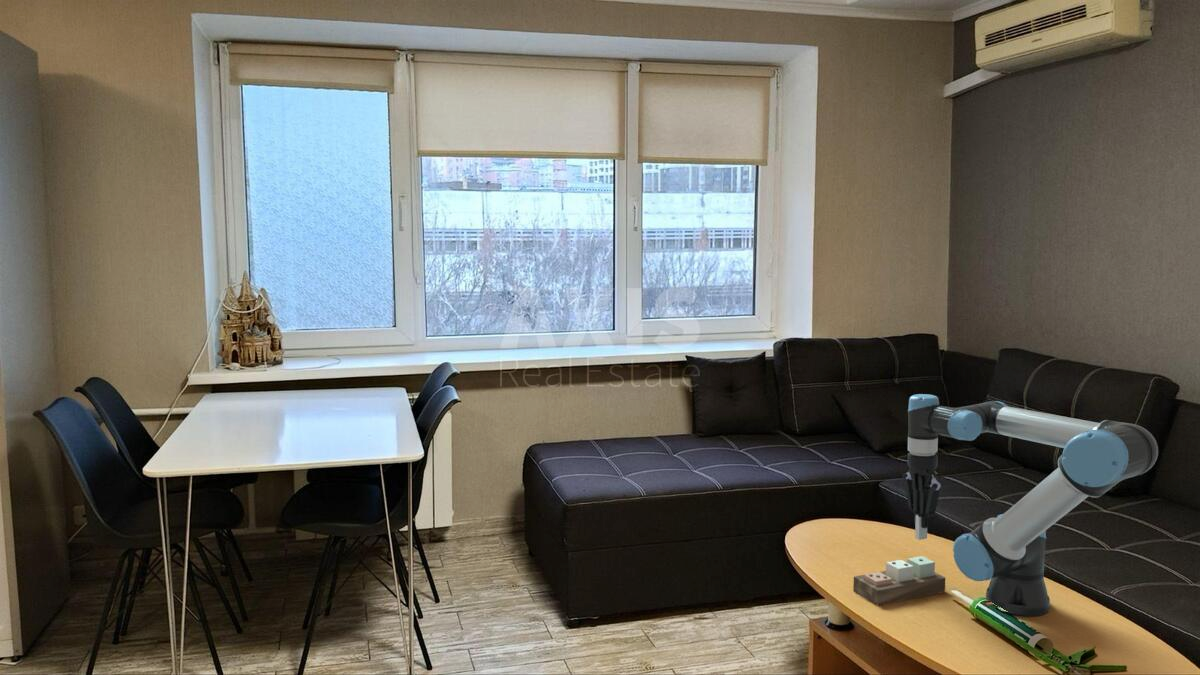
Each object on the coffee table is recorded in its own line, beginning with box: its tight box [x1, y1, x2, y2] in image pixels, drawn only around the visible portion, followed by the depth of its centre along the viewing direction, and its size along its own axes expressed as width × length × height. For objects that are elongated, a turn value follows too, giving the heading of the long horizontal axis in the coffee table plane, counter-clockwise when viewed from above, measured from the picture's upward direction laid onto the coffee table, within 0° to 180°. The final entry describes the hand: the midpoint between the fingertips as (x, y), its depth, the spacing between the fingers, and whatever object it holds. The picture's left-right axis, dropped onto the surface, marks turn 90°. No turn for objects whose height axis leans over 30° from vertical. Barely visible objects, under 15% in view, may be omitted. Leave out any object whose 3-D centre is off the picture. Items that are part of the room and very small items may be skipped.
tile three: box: [863, 571, 892, 586], centre depth 242 cm, size 5×5×5 cm
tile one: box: [906, 555, 936, 578], centre depth 246 cm, size 5×5×5 cm
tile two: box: [885, 559, 914, 582], centre depth 244 cm, size 5×5×5 cm
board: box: [852, 570, 946, 606], centre depth 244 cm, size 10×22×4 cm, turn 111°
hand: (921, 538), depth 244 cm, fingers closed
